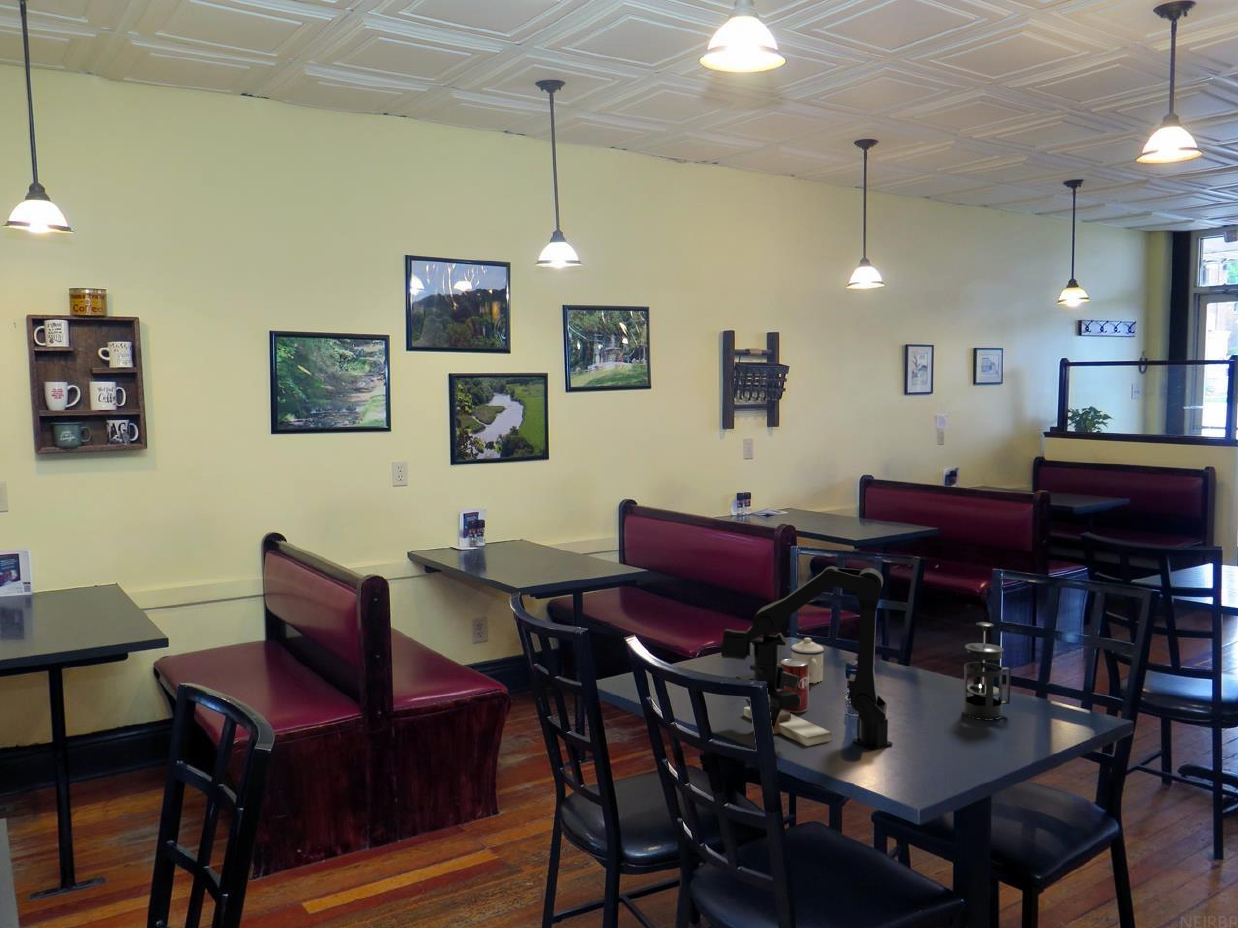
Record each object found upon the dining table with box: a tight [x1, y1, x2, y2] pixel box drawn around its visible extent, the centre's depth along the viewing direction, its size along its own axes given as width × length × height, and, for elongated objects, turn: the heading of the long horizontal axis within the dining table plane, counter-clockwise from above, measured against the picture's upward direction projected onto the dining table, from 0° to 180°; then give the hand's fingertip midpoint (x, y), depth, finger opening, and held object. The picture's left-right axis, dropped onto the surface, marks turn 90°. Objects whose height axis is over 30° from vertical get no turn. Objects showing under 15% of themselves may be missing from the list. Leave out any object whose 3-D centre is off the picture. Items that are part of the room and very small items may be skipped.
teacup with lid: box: [790, 637, 825, 684], centre depth 267 cm, size 12×9×12 cm
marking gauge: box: [751, 711, 792, 735], centre depth 227 cm, size 4×10×7 cm, turn 118°
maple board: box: [743, 706, 832, 747], centre depth 230 cm, size 24×7×2 cm, turn 29°
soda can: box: [778, 658, 810, 714], centre depth 243 cm, size 7×7×12 cm
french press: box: [961, 621, 1012, 719], centre depth 239 cm, size 12×9×23 cm
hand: (765, 726), depth 226 cm, fingers closed on marking gauge, 4 cm apart
